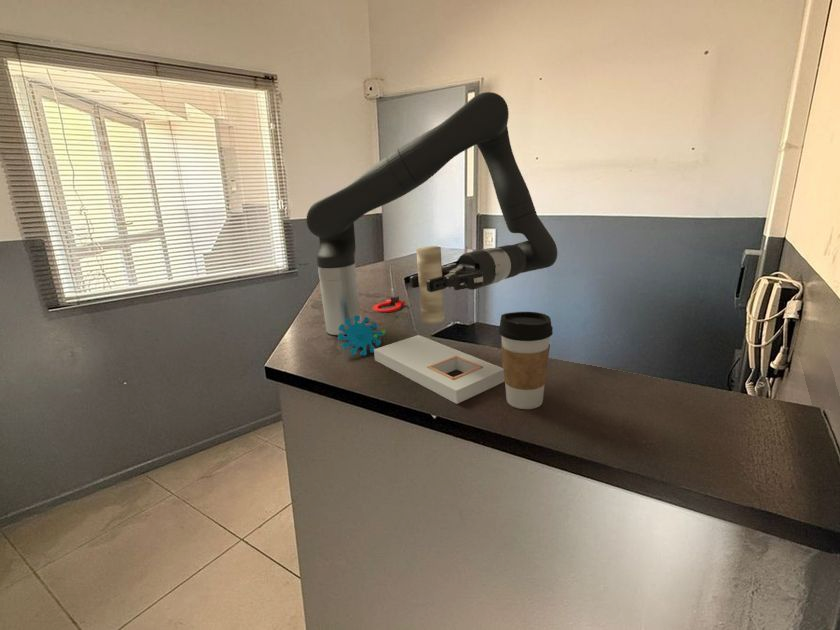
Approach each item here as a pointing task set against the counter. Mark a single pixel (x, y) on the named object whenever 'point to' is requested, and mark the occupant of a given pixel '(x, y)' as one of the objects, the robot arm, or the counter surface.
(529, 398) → the coffee cup
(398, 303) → the tow hook
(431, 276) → the peg
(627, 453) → the counter surface
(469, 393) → the white peg hole board
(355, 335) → the gear
